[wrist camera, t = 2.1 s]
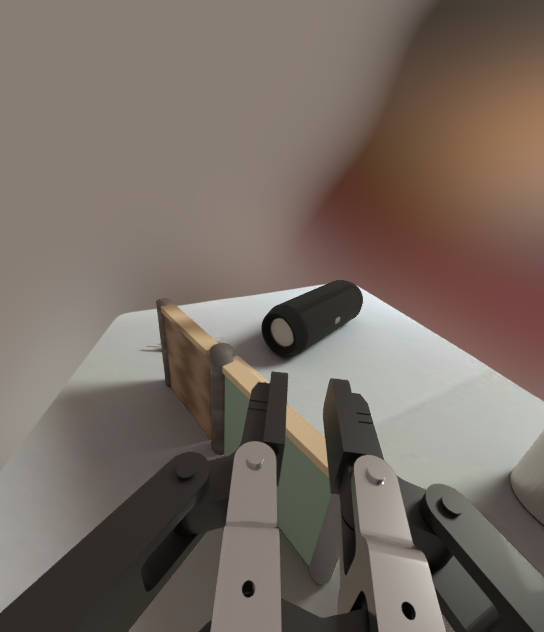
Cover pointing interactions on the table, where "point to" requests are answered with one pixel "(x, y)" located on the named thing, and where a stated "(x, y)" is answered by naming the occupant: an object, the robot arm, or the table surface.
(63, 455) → the table surface
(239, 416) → the panel
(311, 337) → the portable speaker
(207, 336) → the fence fixed section
